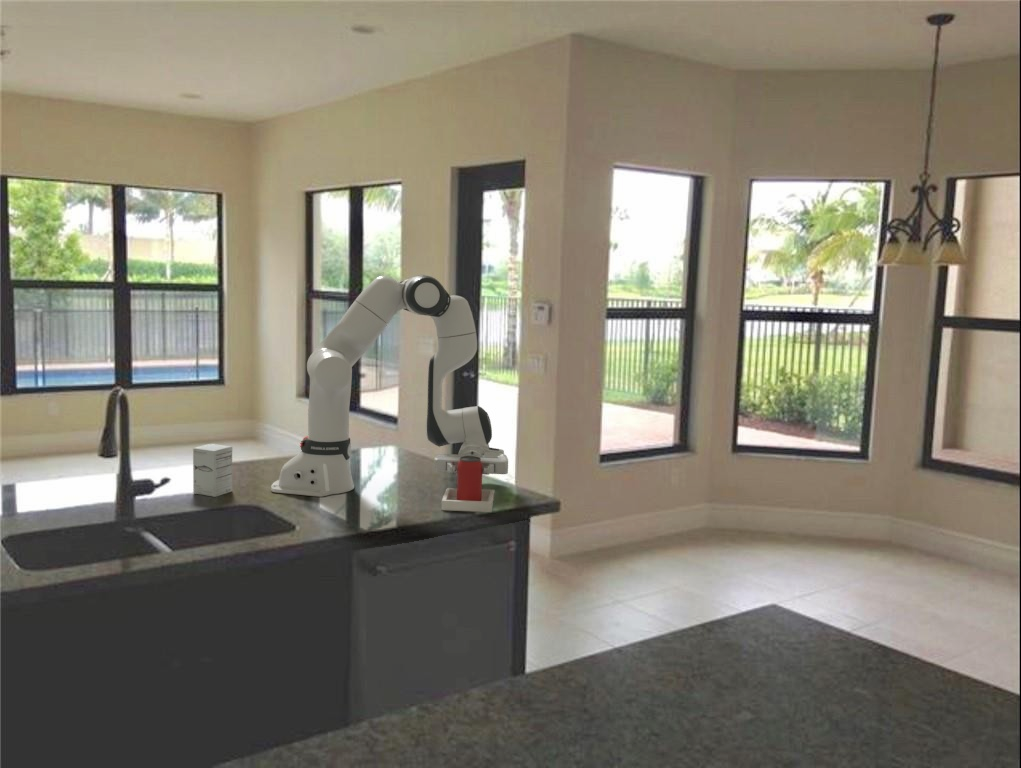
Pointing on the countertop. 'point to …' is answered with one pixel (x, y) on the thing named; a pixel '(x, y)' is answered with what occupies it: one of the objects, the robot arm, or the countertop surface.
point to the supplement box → (212, 470)
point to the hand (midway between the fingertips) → (469, 470)
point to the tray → (467, 502)
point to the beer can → (469, 479)
